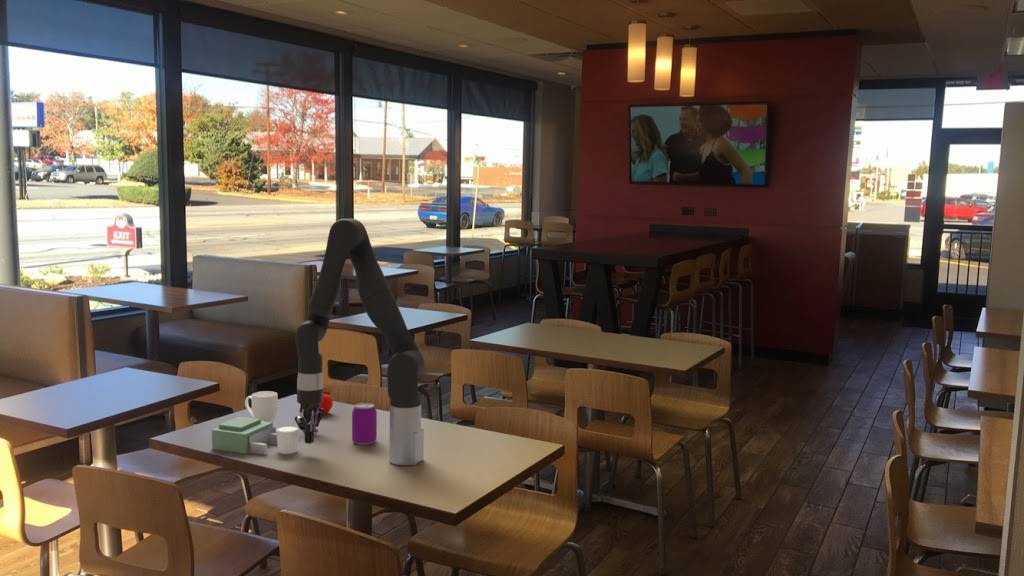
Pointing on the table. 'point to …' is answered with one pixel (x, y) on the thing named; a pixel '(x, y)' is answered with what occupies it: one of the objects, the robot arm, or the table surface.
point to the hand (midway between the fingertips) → (309, 442)
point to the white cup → (287, 439)
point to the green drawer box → (237, 434)
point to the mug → (263, 405)
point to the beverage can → (364, 424)
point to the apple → (326, 403)
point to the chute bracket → (261, 441)
